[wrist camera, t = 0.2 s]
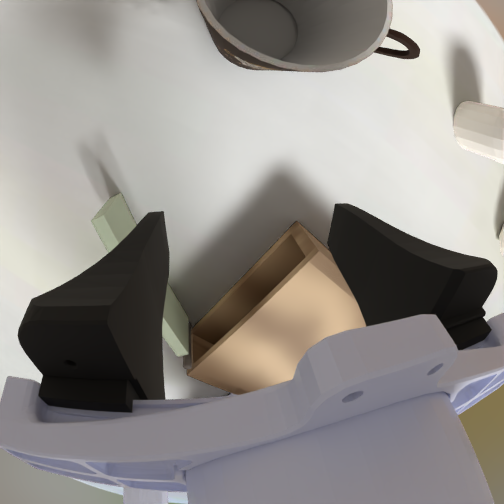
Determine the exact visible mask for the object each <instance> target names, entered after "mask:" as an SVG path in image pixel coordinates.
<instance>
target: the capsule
mask: <svg viewBox="0 0 504 504" xmlns="http://www.w3.org/2000/svg"><path fill="white" fill-rule="evenodd" d="M453 128H454V135H455V138H456V140H457V142H458V144H459V145H460V146H461V147H462V148H463V149H465V150H468V151H471V152H474V153H476V154H479V155H482V156H484V157H487V158H489V159H492V160H494V161H497V162H499V163H502V164H504V108H501V107H497V106H492V105H487V104H482V103H477V102H472V101H465V102H462V103H461V104H460V105H459V106H458V107H457V109H456V112H455V115H454V122H453Z"/></svg>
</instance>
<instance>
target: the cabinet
mask: <svg viewBox="0 0 504 504" xmlns="http://www.w3.org/2000/svg"><path fill="white" fill-rule="evenodd" d="M362 327H366V324H365V321H364V318H363V316H362V313H361V310H360V308H359V305H358V303H357V301H356V299H355V297H354V295H353V294H352V292H351V290H350V288H349V286H348V285H347V283H346V281H345V279H344V277H343V276H342V274H341V272H340V270H339V268H338V267H337V265H336V263H335V261H334V259H333V256H332V254H331V251H330V250H329V249H328V248H326V247H325V246H324V245H323V244H322V243H321V242H320V241H319V240H318V239H317V238H315V237H314V236H313V235H312V234H311V233H310V232H309V231H308V230H306V229H305V228H304V227H303V226H302V225H301V224H300V223H299V222H297V221H296V222H295V223H294V224H293V225H292V226H291V227H290V228H289V229H288V230H287V231H286V232H285V233H284V234H283V236H282V237H281V238H280V239H279V240H278V241H277V242H276V243H275V244H274V245H273V246H272V247H271V248H270V249H269V250H268V251H267V252H266V253H265V254H264V255H263V256H262V257H261V258H260V259H259V260H258V261H257V262H256V264H255V265H254V266H253V267H252V268H251V269H250V270H249V271H248V272H247V273H246V274H245V275H244V276H243V277H242V278H241V279H240V280H239V281H238V282H237V283H236V284H235V285H234V286H233V287H232V288H231V289H230V290H229V291H228V292H227V293H226V294H225V295H224V296H223V297H222V299H221V300H220V301H219V302H218V303H217V304H216V305H215V306H214V307H213V308H212V309H211V310H210V311H209V312H208V313H207V314H206V315H205V316H204V317H203V318H202V319H201V320H200V321H199V322H198V323H197V324H196V325H195V326H194V327H193V328H192V329H191V324H190V323H189V354H187V355H184V356H183V367H184V368H185V369H187V375H188V376H190V377H192V378H195V379H197V380H200V381H202V382H205V383H207V384H209V385H212V386H215V387H217V388H220V389H222V390H225V391H228V392H230V393H233V394H236V395H241V394H245V393H249V392H252V391H256V390H259V389H263V388H266V387H269V386H273V385H276V384H279V383H282V382H285V381H289V380H292V379H293V377H294V374H295V370H296V367H297V364H298V363H299V361H300V360H301V359H302V357H303V356H304V354H305V353H306V352H307V350H308V349H309V348H310V347H312V346H313V345H315V344H316V343H318V342H319V341H321V340H322V339H324V338H325V337H328V336H331V335H334V334H337V333H340V332H343V331H346V330H351V329H356V328H362Z"/></svg>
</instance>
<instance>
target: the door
mask: <svg viewBox="0 0 504 504" xmlns="http://www.w3.org/2000/svg"><path fill="white" fill-rule="evenodd" d="M91 222H92V224H93V226H94V228H95V229H96V231H97V233H98V235H99V237H100V239H101V240H102V242H103V244H104V246H105V247H106V249H107V251H108V253H109V252H110V251H112V250H113V249H114V248H115V247H116V246H117V245H118V244H119V243H120V242H121V241H122V240H123V239H124V238H125V237H126V236H127V235H128V234H129V233H130V232H131V231H132V230H133V229H134V228H135V227H136V226H137V224H136V222H135V220H134V218H133V216H132V214H131V212H130V210H129V208H128V206H127V204H126V202H125V200H124V198H123V196H122V194H121V193H119V194H117V195H115V196H113V197H111V198H110V199H109V200H108V201H107V202H106V203H105V205H104V206H103V207H102V208H101V209H100V211H99V212H98V213H97V214H96V216H95V217H94V218H93V219H92V221H91ZM162 336H163V338H164V339H165V340H166V342H167V343H168V345H169V346H170V347H171V349H172V350H173V351H174V353H175V354H176V355H177V357H180V356H184V355H187V354H189V318H188V316H187V315H186V313H185V311H184V310H183V308H182V306H181V305H180V303H179V301H178V300H177V298H176V296H175V294H174V293H173V291H172V289H171V287H170V286H169V284H168V283H167V290H166V297H165V305H164V312H163V322H162Z"/></svg>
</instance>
